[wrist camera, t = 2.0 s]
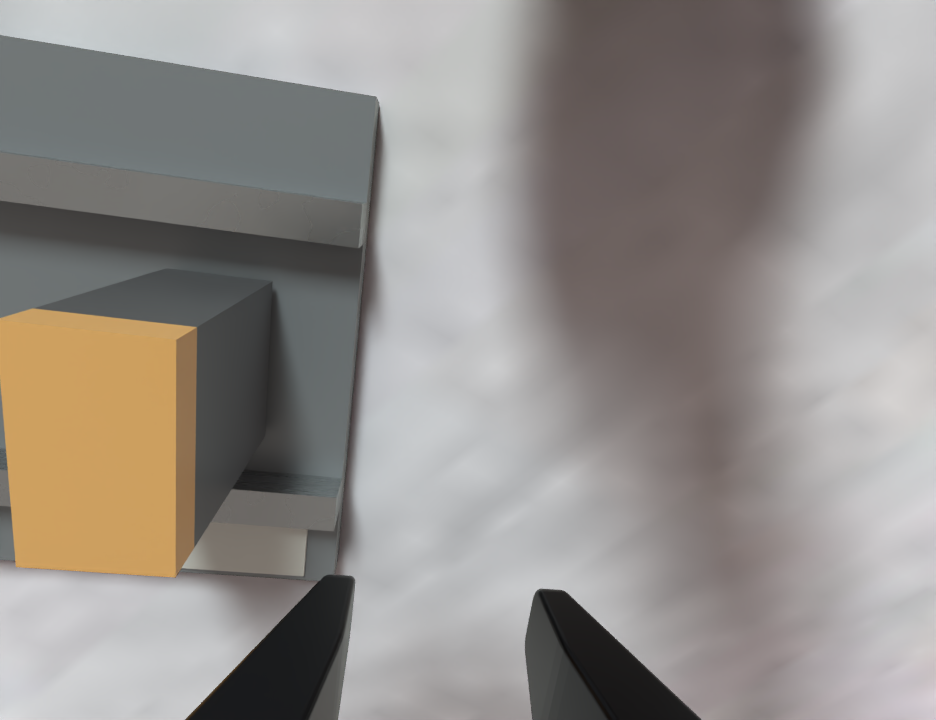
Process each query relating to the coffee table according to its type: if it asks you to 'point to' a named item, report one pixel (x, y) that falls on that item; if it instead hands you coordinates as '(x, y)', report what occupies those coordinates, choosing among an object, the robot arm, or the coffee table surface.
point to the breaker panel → (203, 251)
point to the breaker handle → (131, 417)
